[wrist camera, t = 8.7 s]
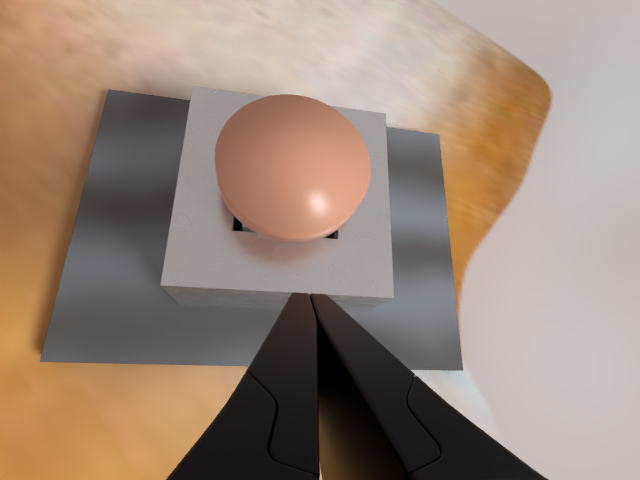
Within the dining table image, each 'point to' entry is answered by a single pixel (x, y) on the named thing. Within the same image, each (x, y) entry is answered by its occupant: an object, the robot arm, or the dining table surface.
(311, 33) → the dining table surface
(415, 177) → the slate board
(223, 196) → the terracotta plug
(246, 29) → the dining table surface
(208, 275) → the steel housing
